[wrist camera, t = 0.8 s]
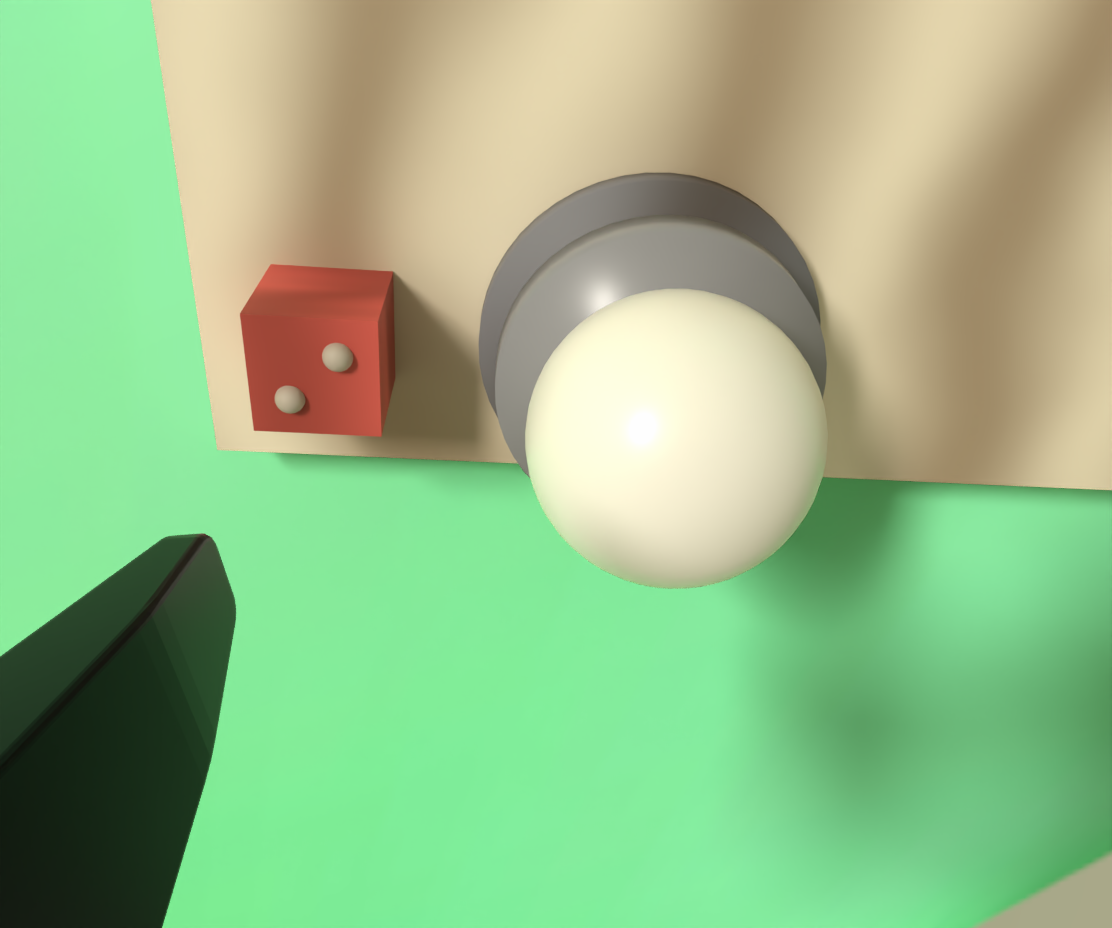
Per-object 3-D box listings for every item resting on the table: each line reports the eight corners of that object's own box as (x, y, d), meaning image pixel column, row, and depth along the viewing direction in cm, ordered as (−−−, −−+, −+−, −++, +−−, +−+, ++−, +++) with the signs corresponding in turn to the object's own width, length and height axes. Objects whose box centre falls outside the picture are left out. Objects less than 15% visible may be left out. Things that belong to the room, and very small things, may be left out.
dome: (848, 225, 18) (965, 352, 13) (777, 506, 22) (848, 682, 17) (503, 203, 17) (498, 326, 13) (490, 493, 21) (481, 671, 16)
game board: (1579, -444, 15) (1918, -543, 12) (1124, 470, 25) (1228, 573, 21) (93, -633, 13) (-66, -819, 10) (235, 428, 23) (182, 533, 20)
